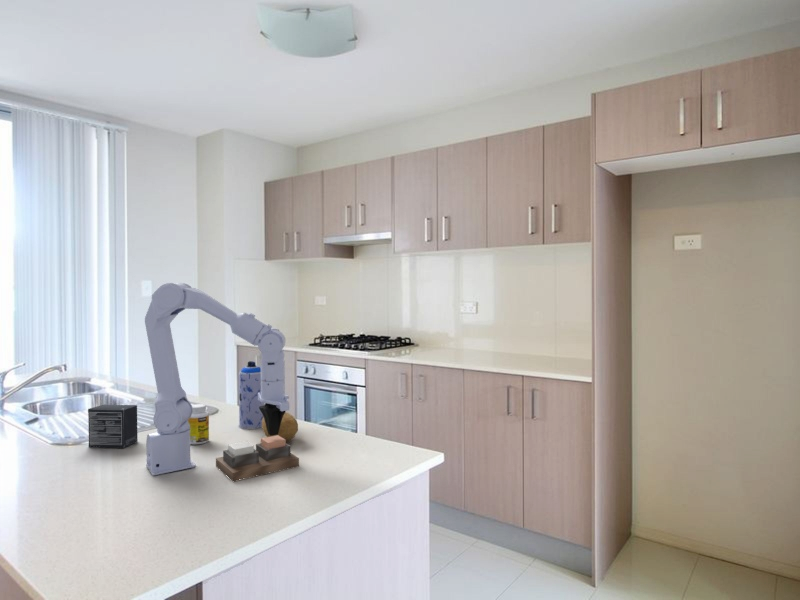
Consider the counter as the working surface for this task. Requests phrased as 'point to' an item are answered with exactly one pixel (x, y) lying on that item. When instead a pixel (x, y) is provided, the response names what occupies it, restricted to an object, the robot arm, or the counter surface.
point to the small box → (112, 426)
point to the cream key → (240, 448)
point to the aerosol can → (250, 397)
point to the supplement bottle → (199, 425)
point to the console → (256, 462)
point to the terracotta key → (273, 442)
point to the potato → (284, 427)
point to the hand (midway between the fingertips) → (273, 434)
